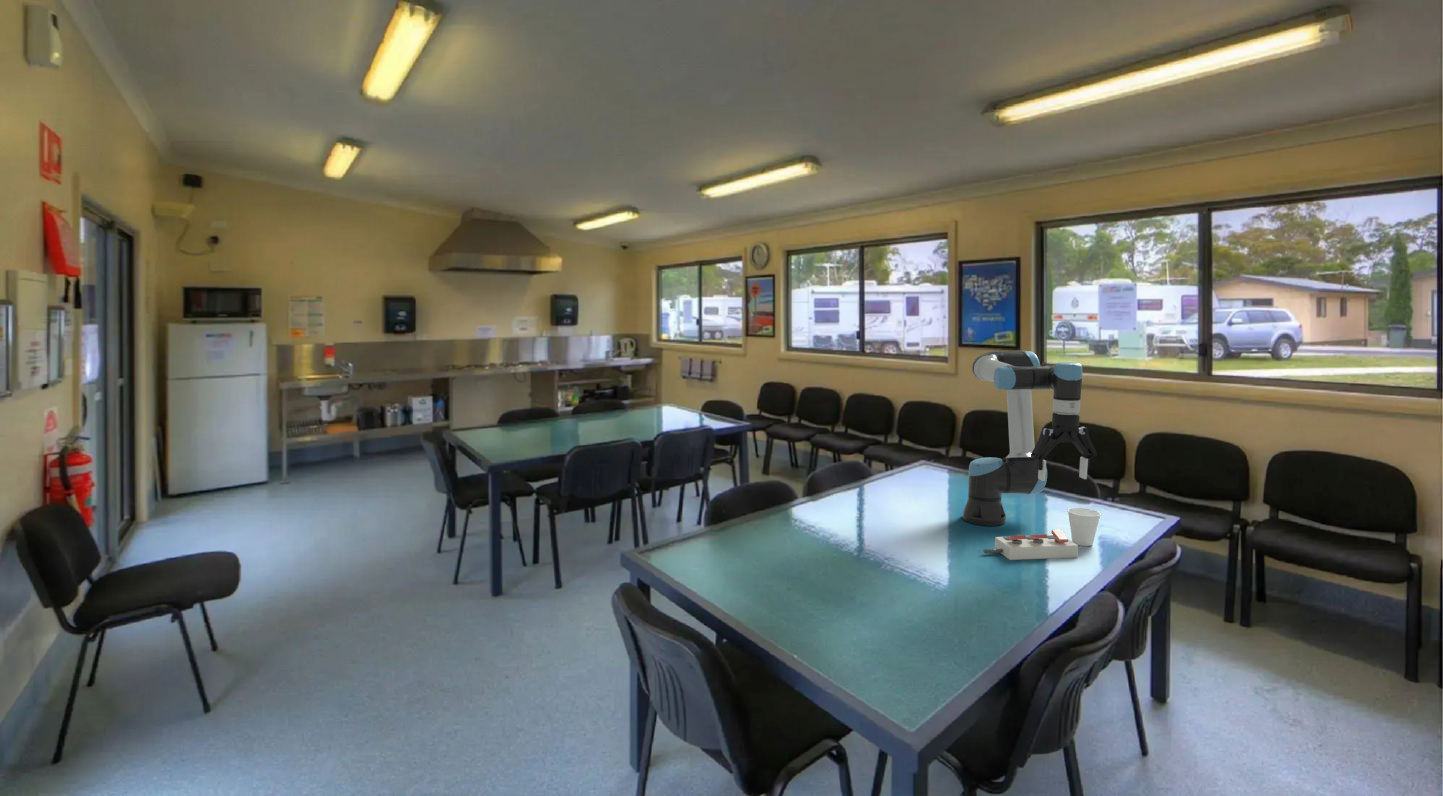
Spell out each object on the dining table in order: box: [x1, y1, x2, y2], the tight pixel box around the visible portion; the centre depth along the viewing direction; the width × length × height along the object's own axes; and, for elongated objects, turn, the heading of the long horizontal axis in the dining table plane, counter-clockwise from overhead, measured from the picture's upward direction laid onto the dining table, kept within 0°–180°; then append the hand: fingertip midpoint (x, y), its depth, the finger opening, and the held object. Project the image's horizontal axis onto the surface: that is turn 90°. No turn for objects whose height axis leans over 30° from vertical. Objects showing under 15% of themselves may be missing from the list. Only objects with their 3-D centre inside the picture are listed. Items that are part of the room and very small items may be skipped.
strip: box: [982, 534, 1079, 561], centre depth 209 cm, size 10×28×5 cm, turn 93°
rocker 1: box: [1008, 534, 1026, 540], centre depth 207 cm, size 5×3×1 cm, turn 2°
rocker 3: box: [1050, 529, 1070, 543], centre depth 208 cm, size 5×3×1 cm, turn 3°
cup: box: [1066, 507, 1102, 547], centre depth 217 cm, size 10×10×11 cm
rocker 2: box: [1029, 533, 1048, 539], centre depth 207 cm, size 5×3×1 cm, turn 2°
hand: (1062, 479), depth 203 cm, fingers open, 13 cm apart
